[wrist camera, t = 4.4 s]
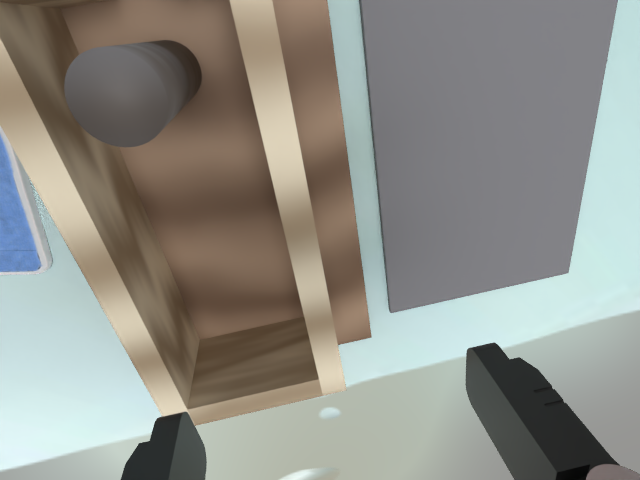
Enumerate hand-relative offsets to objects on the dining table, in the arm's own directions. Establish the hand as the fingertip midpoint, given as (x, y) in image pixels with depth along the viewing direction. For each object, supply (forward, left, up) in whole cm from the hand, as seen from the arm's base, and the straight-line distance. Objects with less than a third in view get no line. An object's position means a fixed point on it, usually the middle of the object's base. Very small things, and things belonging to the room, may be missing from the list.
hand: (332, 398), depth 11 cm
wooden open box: (-1, -5, -15) cm, 16 cm away
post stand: (-1, -5, -17) cm, 17 cm away
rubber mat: (-3, +13, -17) cm, 22 cm away
